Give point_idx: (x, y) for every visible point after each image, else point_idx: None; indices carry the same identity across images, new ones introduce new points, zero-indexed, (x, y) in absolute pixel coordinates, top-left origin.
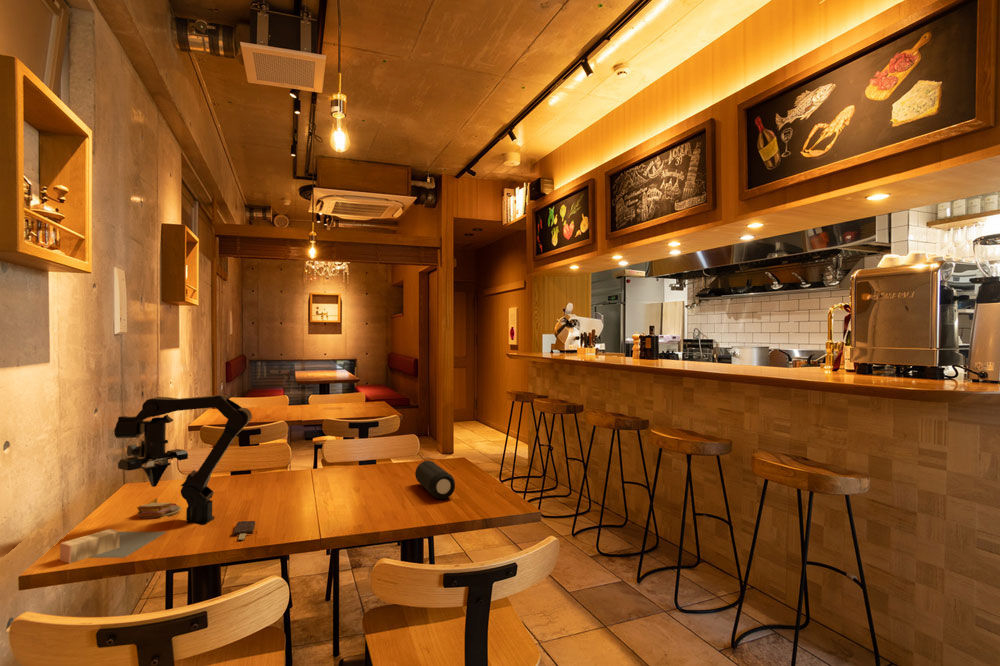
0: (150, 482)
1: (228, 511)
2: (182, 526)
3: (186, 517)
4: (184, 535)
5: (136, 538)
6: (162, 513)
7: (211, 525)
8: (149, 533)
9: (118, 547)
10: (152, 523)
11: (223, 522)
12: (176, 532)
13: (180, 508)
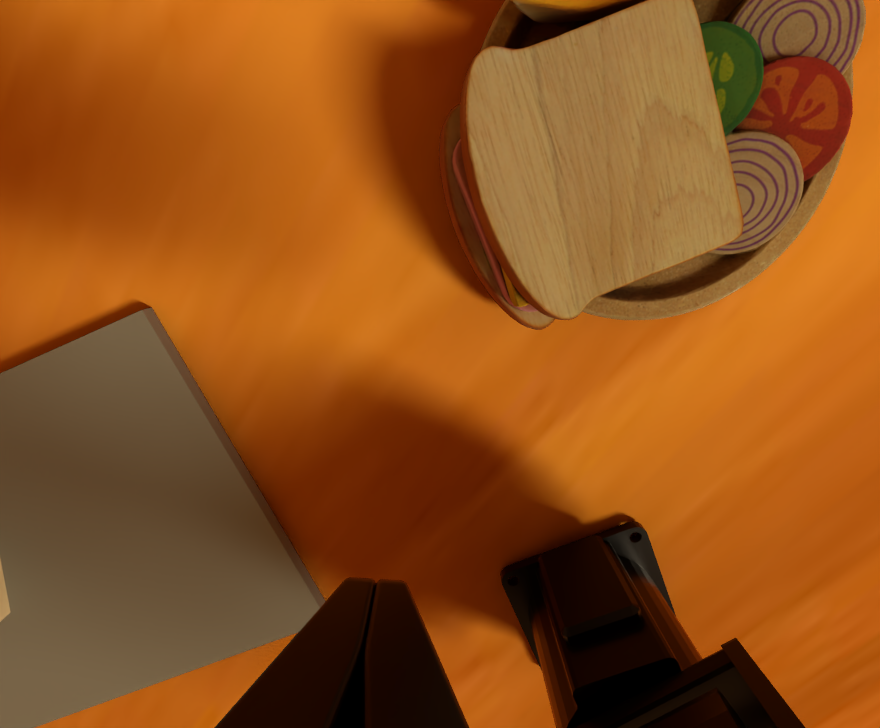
0: (289, 657)
1: (827, 596)
2: (469, 580)
3: (543, 571)
4: None
5: (152, 563)
6: (541, 327)
7: None
8: (250, 555)
9: (3, 614)
10: (427, 337)
11: None
12: None
13: (763, 268)
